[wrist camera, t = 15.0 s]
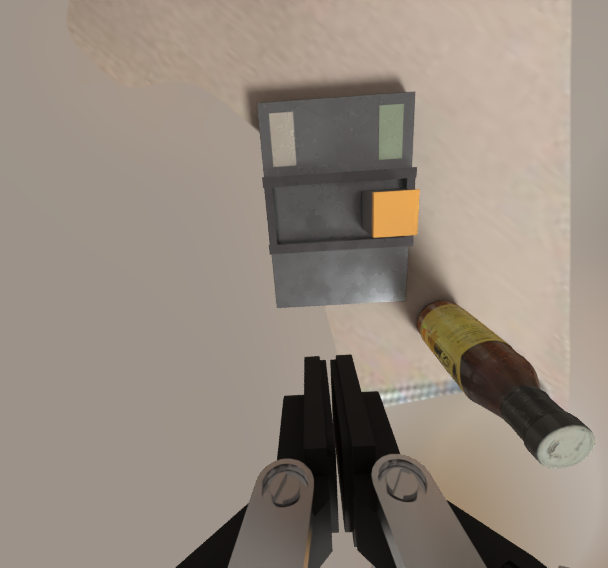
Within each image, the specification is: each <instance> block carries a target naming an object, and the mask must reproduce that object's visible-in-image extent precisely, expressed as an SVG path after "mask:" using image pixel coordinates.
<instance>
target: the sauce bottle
mask: <svg viewBox="0 0 608 568" xmlns="http://www.w3.org/2000/svg"><path fill="white" fill-rule="evenodd" d="M417 326H418V330H419V332H420V334H421V337H422V339H423V341H424V342H425V343H426V344H427V346H428V347H429V348H430V350H431V351H432V352H433V354H434V355H435V356H436V357H437V359H438V360H439V361H440V363H441V364H442V365H443V366H444V368H445V369H446V371H447V372H448V373H449V374H450V375H451V377H452V378H453V379H454V380H455V382H456V383H457V384H458V386H459V387H460V388H461V389H462V391H463V392H464V393H465V394H466V395H467V397H468V398H469V399H470V400H472V401H473V402H475V403H477V404H479V405H481V406H482V407H484V408H486V409H488V410H489V411H491V412H493V413H494V414H496V415H498V416H499V417H501V418H502V419H504V420H505V421H506V422H507V423H508V424H509V425H510V426H511V427H512V428H513V429H514V430H515V432H516V433H517V434H518V435H519V436H520V438H522V440H523V441H524V445H525V446H526V448H527V449H528V451H529V452H530V453H531V454H532V455H533V456H534V457H535V458H536V459H537V460H538V461H539V462H540V463H541V464H542V465H544V466H546V467H548V468H557V469H560V468H566V467H570V466H574V465H576V464H578V463H580V462H582V460H584V459H585V458H586V457H587V456H588V455H589V454H590V453H591V451H592V449H593V446H594V444H595V442H594V441H595V438H594V435H593V433H592V431H591V430H590V429H589V428H588V427H587V426H585V425H584V424H583V423H582V422H581V421H580V420H579V419H578V418H577V417H575V416H573V415H572V414H570V413H568V412H566V411H564V410H563V409H562V408H561V407H560V406H558V405H557V404H556V403H555V402H554V401H553V400H552V399H550V397H549V396H548V394H547V393H546V392H544V391H542V390H541V389H540V385H539V380H538V377H537V374H536V371H535V369H534V368H533V366H532V365H531V364H530V363H529V362H528V361H527V360H526V359H525V358H524V357H523V356H521V355H520V354H518V353H517V352H516V351H515V350H514V349H513V348H512V347H511V346H510V345H509V344H508V343H506V342H505V341H504V340H503V339H501V338H500V337H499V336H497V335H496V334H495V333H494V332H492V331H491V330H490V329H489V328H487V327H486V326H485V325H484V324H482V323H481V322H480V321H478V320H477V319H476V318H475V317H473V316H472V315H471V314H470V313H468V312H467V311H466V310H464V309H463V308H461V307H459V306H458V305H457V304H454V303H452V302H449V301H438V302H435V303H432V304H430V305H428V306H427V307H426V308H425V309H424V310H423V311H422V312H421V314H420V315H419V318H418V322H417Z"/></svg>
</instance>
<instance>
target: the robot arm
mask: <svg viewBox="0 0 608 568" xmlns="http://www.w3.org/2000/svg"><path fill="white" fill-rule="evenodd" d="M330 361H331V362H330V365H331V388H332V412H333V420H332V412H331V404H330V394H329V385H328V377H327V367H326V360H320V357H319V356H314V357H305V360H304V371H305V372H304V395H291V396H284V399H283V408H282V417H281V427H280V436H279V447H278V456H277V461H274V462H273V463H271V464H269V465H268V466H266V467H265V468H264V469H263V470H262V472H261V473H260V474H259V476H258V478H257V480H256V483H255V486H254V489H253V492H252V495H251V498H250V501H249V503H248V504H247V505H246V506H245V507H244V508H242V509H241V511H239V512H238V513H237V514H236V515H234V516H233V517H232V518H231V519H230V520H229V521H228V522H227V523H226V524H224V525H223V526H222V527H221V528H220V529H219V530H217V531H216V532H215V533H214V534H213V535H212V536H211V537H210V538H208V539H207V540H206V541H205V542H204V543H203V544H202V545H201V546H199V547H198V548H197V549H196V550H195V551H194V552H193V553H191V554H190V555H189V556H188V557H187V558H186V559H185V560H184V561H182V562H181V563H180V564H179V565H178V566H177V567H176V568H320V566H321V565H322V564H323V563H324V561H325V560H326V559H327V558H328V556H329V555H330V554H331V552H332V533H337V532H339V525H338V499H337V475H336V474H337V473H336V457H337V465H338V474H339V483H340V493H341V501H342V510H343V520H344V529H345V532H353V541H354V547H357V550H358V551H359V552H360V553H361V554H362V555H363V556H364V557H365V558H366V559H367V560H368V561H369V562H370V563H371V568H547V567H546V566H544V565H543V564H542V563H541V562H540V561H538V560H537V559H536V558H534V557H533V556H532V555H530V554H529V553H527V552H526V551H524V550H522V549H521V548H519V547H518V546H516V545H515V544H513V543H512V542H510V541H508V540H507V539H506V538H504V537H503V536H501V535H499V534H498V533H496V532H495V531H493V530H491V529H490V528H489V527H487V526H486V525H484V524H483V523H481V522H480V521H478V520H477V519H475V518H473V517H472V516H470V515H469V514H467V513H466V512H464V511H463V510H461V509H460V508H458V507H457V506H455V505H454V504H452V503H451V502H449V501H447V500H446V499H445V497H444V496H443V494H442V492H441V491H440V489H439V487H438V486H437V484H436V482H435V481H434V479H433V478H432V476H431V474H430V473H429V471H428V470H427V469H426V468H425V466H423V465H422V464H421V463H420V462H418V461H417V460H415V459H413V458H411V457H409V456H405V455H401V454H400V452H399V449H398V446H397V443H396V440H395V437H394V435H393V432H392V429H391V426H390V423H389V420H388V418H387V415H386V412H385V409H384V406H383V403H382V400H381V397H380V395H379V392H377V391H374V392H361V389H360V385H359V381H358V377H357V374H356V370H355V366H354V362H353V359H352V355H336V359H335V360H330ZM335 448H336V451H335ZM558 568H568V567H564V566H559V567H558Z"/></svg>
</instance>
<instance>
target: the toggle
mask: <svg viewBox="0 0 608 568" xmlns="http://www.w3.org/2000/svg"><path fill="white" fill-rule="evenodd" d="M419 193H420V190H419V189H386V190H371V191H362V229H363V230H365V231H366V232H367V233H368V234H370V235H371V236H372V237H373V238H377V237H393V236H409V235H417V230H418V212H419Z"/></svg>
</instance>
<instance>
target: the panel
mask: <svg viewBox="0 0 608 568" xmlns="http://www.w3.org/2000/svg"><path fill="white" fill-rule="evenodd" d="M257 109H258V119H259V130H260V140H261V150H262V160H263V171H264V177H263V178H262V180H263V187H264V189H265V200H266V210H267V220H268V231H269V241H270V245H269V250H270V254H272V262H273V273H274V282H275V292H276V304H277V308H286V307H303V306H320V305H340V304H358V303H376V302H394V301H406V288H407V266H408V246H413V235H409V236H393V237H377V238H373V237H372V236H371V235H370V234H368V233H367V232H366V231H365V230H363V229H362V191H371V190H386V189H415V178H416V174H417V167H412V154H413V131H414V109H415V92H403V93H389V94H376V95H362V96H348V97H335V98H321V99H307V100H294V101H280V102H266V103H257Z"/></svg>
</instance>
